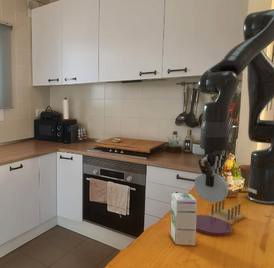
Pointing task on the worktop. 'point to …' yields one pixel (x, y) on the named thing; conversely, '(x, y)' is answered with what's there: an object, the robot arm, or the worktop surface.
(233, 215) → the dish rack
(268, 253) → the worktop surface
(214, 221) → the plum plate
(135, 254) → the worktop surface
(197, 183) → the plate
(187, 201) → the syrup box
